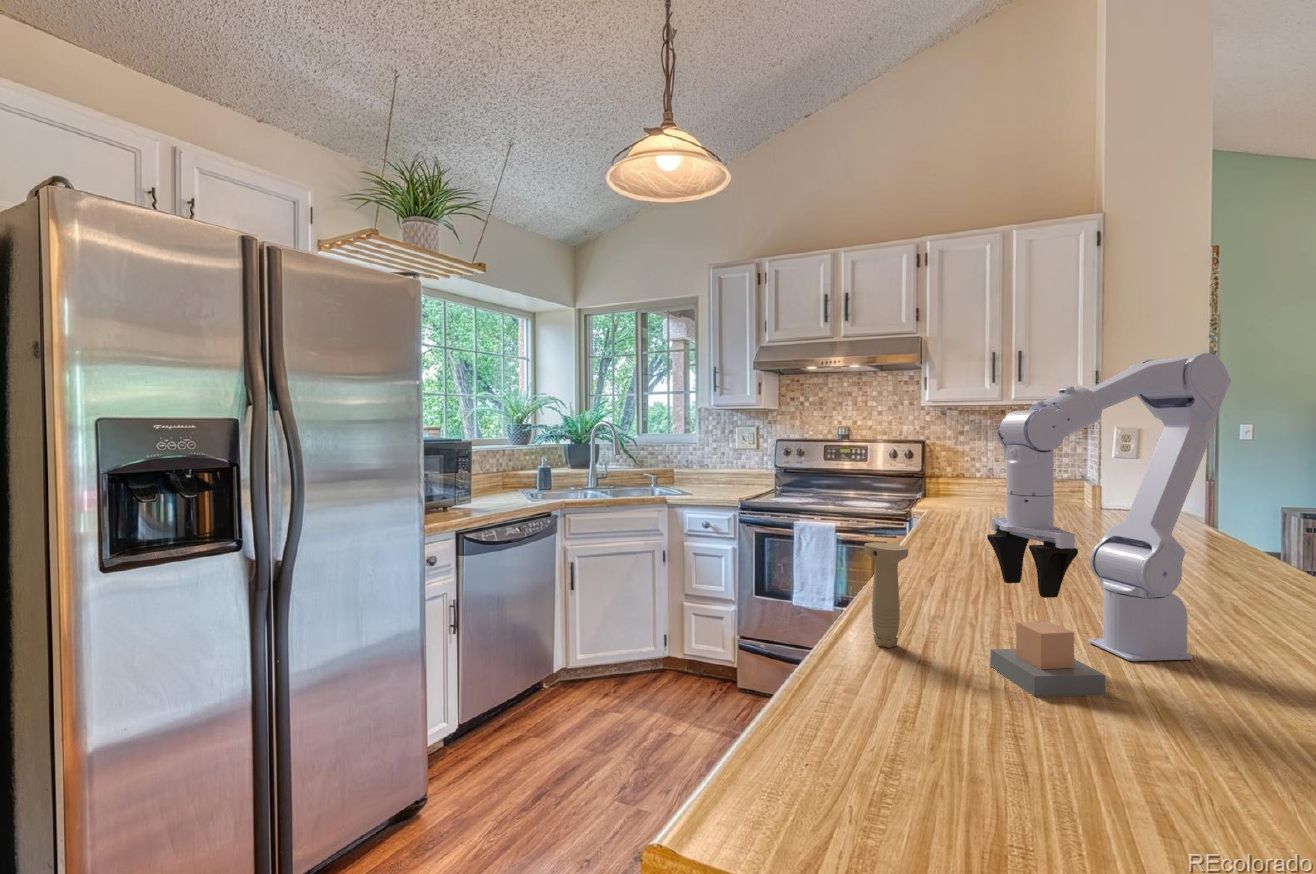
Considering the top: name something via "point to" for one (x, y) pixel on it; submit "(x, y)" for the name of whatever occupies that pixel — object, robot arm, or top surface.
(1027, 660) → the terracotta block
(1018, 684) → the plate
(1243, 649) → the top surface
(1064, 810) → the top surface
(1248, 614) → the top surface
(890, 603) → the handle
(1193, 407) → the robot arm
